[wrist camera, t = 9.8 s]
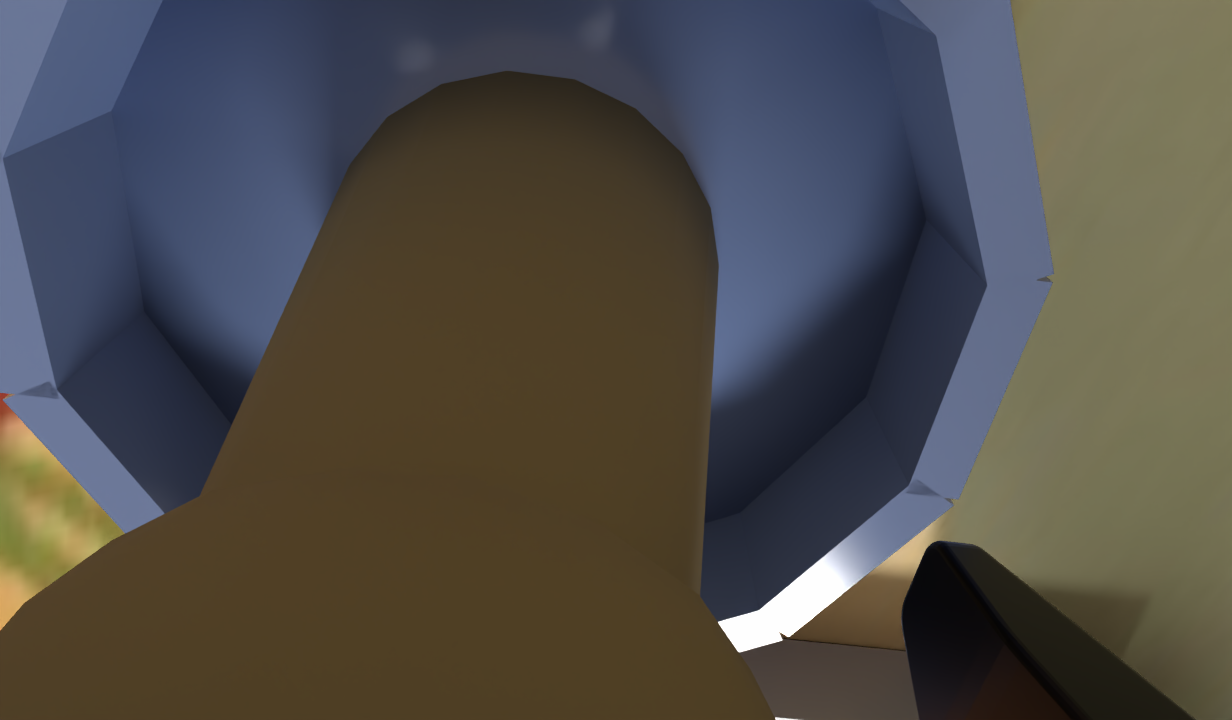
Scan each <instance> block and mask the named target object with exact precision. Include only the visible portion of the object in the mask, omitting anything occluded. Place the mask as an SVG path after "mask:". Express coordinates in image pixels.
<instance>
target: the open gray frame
mask: <svg viewBox="0 0 1232 720" xmlns="http://www.w3.org/2000/svg"><path fill="white" fill-rule="evenodd" d="M739 653H740V655H741V656H742V658H743V659H744V661H745V662H746V664H747V665H748V666H749V668H750V669H751V671H752V673H753V675H754V677H755V679H756V681H757V683H758V685H759V687H760V689H761V691H762V693H763V695H764V697H765V699H766V701H767V703H768V705H769V707H770V709H771V711H772V713H773V715H774V717H775V719H776V720H919V718H918V713H917V707H916V702H915V696H914V691H913V685H912V680H911V674H910V669H909V663H908V658H907V652H906V651H899V650H889V649H879V648H868V647H858V646H848V645H838V644H828V643H818V642H808V641H798V640H787V639H782V641H778V642H775V643H771V644H767V645H764V646H760V647H756V648H753V649H749V650H745V651H742V652H739Z"/></svg>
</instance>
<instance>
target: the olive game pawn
mask: <svg viewBox="0 0 1232 720" xmlns="http://www.w3.org/2000/svg"><path fill="white" fill-rule="evenodd" d="M718 273H719V262H718V255H717V248H716V241H715V234H714V227H713V220H712V213H711V207H710V206H709V204H708V202H707V200H706V198H705V196H704V194H703V192H702V190H701V188H700V186H699V184H698V182H697V180H696V178H695V177H694V175H693V173H692V171H691V169H690V167H689V165H688V163H687V161H686V159H685V157H684V155H683V153H681V152H680V151H679V150H678V149H677V148H676V147H675V146H674V145H673V144H672V143H671V142H670V141H669V140H668V139H667V138H666V137H665V136H664V135H663V134H662V133H661V132H660V131H659V130H658V129H657V128H656V127H654V126H653V125H652V124H651V123H650V122H649V121H648V120H647V119H646V118H645V117H644V116H643V115H642V114H641V113H640V112H639V111H638V110H637V109H636V108H634V107H632V106H630V105H627V104H625V103H623V102H621V101H619V100H617V99H615V98H613V97H611V96H609V95H607V94H604V93H602V92H600V91H598V90H596V89H594V88H592V87H590V86H588V85H586V84H584V83H582V82H579V81H577V80H575V79H569V78H561V77H553V76H545V75H538V74H530V73H522V72H514V71H502V72H498V73H493V74H488V75H483V76H478V77H473V78H468V79H463V80H458V81H454V82H449V83H444V84H441V85H439V86H437V87H436V88H434V89H432V90H431V91H429V92H427V93H426V94H424V95H422V96H421V97H419V98H418V99H416V100H414V101H413V102H411V103H409V104H408V105H406V106H404V107H403V108H401V109H399V110H398V111H396V112H395V113H393V114H391V115H390V116H388V117H387V118H386V119H385V120H384V121H383V123H382V124H381V125H380V127H379V128H378V129H377V130H376V132H375V133H374V134H373V135H372V137H371V138H370V139H369V141H368V142H367V143H366V144H365V146H364V147H363V148H362V149H361V151H360V152H359V153H358V155H357V156H356V157H355V158H354V160H353V161H352V162H351V163H350V165H349V167H348V169H347V171H346V174H345V176H344V178H343V180H342V182H341V185H340V187H339V189H338V191H337V193H336V196H335V198H334V200H333V202H332V205H331V207H330V209H329V211H328V213H327V216H326V218H325V220H324V222H323V224H322V227H321V229H320V231H319V233H318V235H317V238H316V240H315V242H314V244H313V246H312V249H311V251H310V253H309V255H308V258H307V260H306V262H305V264H304V266H303V269H302V271H301V273H300V275H299V277H298V280H297V282H296V284H295V286H294V288H293V291H292V293H291V295H290V297H289V300H288V302H287V304H286V306H285V308H284V311H283V313H282V315H281V317H280V319H279V322H278V324H277V326H276V328H275V330H274V333H273V335H272V337H271V339H270V342H269V344H268V346H267V348H266V350H265V353H264V355H263V357H262V359H261V361H260V364H259V366H258V368H257V370H256V372H255V375H254V377H253V379H252V381H251V383H250V386H249V388H248V390H247V392H246V395H245V397H244V399H243V401H242V403H241V406H240V408H239V410H238V412H237V414H236V417H235V419H234V421H233V423H232V425H231V428H230V430H229V432H228V434H227V437H226V439H225V441H224V443H223V445H222V448H221V450H220V452H219V454H218V456H217V459H216V461H215V463H214V465H213V467H212V470H211V472H210V474H209V476H208V479H207V481H206V483H205V485H204V487H203V490H202V492H201V494H200V496H199V497H197V498H195V499H193V500H191V501H189V502H187V503H185V504H183V505H181V506H179V507H177V508H175V509H173V510H171V511H169V512H167V513H165V514H163V515H161V516H159V517H157V518H155V519H153V520H151V521H149V522H147V523H145V524H143V525H141V526H139V527H137V528H135V529H133V530H131V531H130V532H128V533H126V534H124V535H122V536H120V537H118V538H116V539H114V540H112V541H110V542H109V543H107V544H106V545H105V546H103V547H102V548H101V549H99V550H98V551H96V552H95V553H94V554H92V555H91V556H89V557H88V558H87V559H85V560H84V561H82V562H81V563H80V564H78V565H77V566H75V567H74V568H73V569H71V570H70V571H68V572H67V573H66V574H64V575H63V576H62V577H60V578H59V579H57V580H56V581H55V582H53V583H52V584H50V585H49V586H48V587H46V588H45V589H43V590H42V591H41V592H39V593H38V594H36V595H35V596H34V597H32V598H31V599H29V600H28V601H27V602H25V603H24V604H23V605H22V606H21V608H20V609H19V610H18V611H17V612H16V613H15V615H14V616H13V617H12V618H11V619H10V620H9V621H8V623H7V624H6V625H5V626H4V627H3V628H2V630H1V631H0V720H776V719H775V717H774V715H773V713H772V711H771V709H770V707H769V705H768V703H767V701H766V699H765V697H764V695H763V693H762V691H761V689H760V687H759V685H758V683H757V681H756V679H755V677H754V675H753V673H752V671H751V669H750V668H749V666H748V665H747V664H746V662H745V661H744V659H743V658H742V656H741V655H740V653H739V652H738V651H737V649H736V648H735V646H734V645H733V643H732V642H731V640H730V639H729V638H728V636H727V635H726V633H725V632H724V630H723V629H722V627H721V626H720V625H719V623H718V622H717V620H716V619H715V617H714V616H713V614H712V613H711V612H710V610H709V609H708V607H707V606H706V604H705V603H704V601H703V600H702V599H701V597H700V589H701V571H702V554H703V536H704V519H705V501H706V484H707V466H708V449H709V431H710V414H711V396H712V379H713V361H714V344H715V326H716V308H717V291H718Z"/></svg>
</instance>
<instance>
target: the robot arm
mask: <svg viewBox="0 0 1232 720" xmlns="http://www.w3.org/2000/svg"><path fill="white" fill-rule="evenodd" d="M901 620H902V630H903V636H904V641H905V647H906V652H907V658H908V663H909V669H910V674H911V680H912V685H913V691H914V696H915V702H916V707H917V713H918V718H919V720H1196V719H1194V718H1193V717H1192V716H1191V715H1189V714H1188V713H1187V712H1186V711H1184V710H1183V709H1182V708H1181V707H1179V706H1178V705H1177V704H1176V703H1174V702H1173V701H1172V700H1171V699H1169V698H1168V697H1167V696H1166V695H1164V694H1163V693H1162V692H1161V691H1159V690H1158V689H1157V688H1156V687H1154V686H1153V685H1152V684H1151V683H1149V682H1148V681H1147V680H1146V679H1144V678H1143V677H1142V676H1141V675H1139V674H1138V673H1137V672H1136V671H1134V670H1133V669H1132V668H1131V667H1129V666H1128V665H1127V664H1126V663H1124V662H1123V661H1122V660H1121V659H1119V658H1118V657H1117V656H1116V655H1114V654H1113V653H1112V652H1111V651H1109V650H1108V649H1107V648H1106V647H1104V646H1103V645H1102V644H1101V643H1099V642H1098V641H1097V640H1096V639H1094V638H1093V637H1092V636H1091V635H1089V634H1088V633H1087V632H1086V631H1084V630H1083V629H1082V628H1081V627H1079V626H1078V625H1077V624H1076V623H1074V622H1073V621H1072V620H1071V619H1069V618H1068V617H1067V616H1066V615H1064V614H1063V613H1062V612H1061V611H1059V610H1058V609H1057V608H1056V607H1054V606H1053V605H1052V604H1051V603H1049V602H1048V601H1047V600H1046V599H1044V598H1043V597H1042V596H1041V595H1039V594H1038V593H1037V592H1035V591H1034V590H1033V589H1032V588H1030V587H1029V586H1028V585H1027V584H1025V583H1024V582H1023V581H1022V580H1020V579H1019V578H1018V577H1017V576H1015V575H1014V574H1013V573H1012V572H1010V571H1009V570H1008V569H1007V568H1005V567H1004V566H1003V565H1002V564H1000V563H999V562H998V561H997V560H995V559H994V558H993V557H992V556H990V555H989V554H988V553H987V552H985V551H984V550H983V549H981V548H980V547H978V546H976V545H973V544H966V543H957V542H948V541H937V542H934V543H932V544H931V545H930V546H929V547H928V548H927V549H926V551H925V553H924V555H923V557H922V560H921V562H920V564H919V567H918V569H917V571H916V574H915V576H914V578H913V581H912V583H911V585H910V588H909V590H908V592H907V595H906V597H905V600H904V603H903V607H902V616H901Z"/></svg>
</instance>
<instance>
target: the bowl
mask: <svg viewBox="0 0 1232 720" xmlns="http://www.w3.org/2000/svg"><path fill="white" fill-rule="evenodd" d="M502 71H514V72H522V73H530V74H538V75H545V76H553V77H561V78H569V79H575V80H577V81H579V82H582V83H584V84H586V85H588V86H590V87H592V88H594V89H596V90H598V91H600V92H602V93H604V94H607V95H609V96H611V97H613V98H615V99H617V100H619V101H621V102H623V103H625V104H627V105H630V106H632V107H634V108H636V109H637V110H638V111H639V112H640V113H641V114H642V115H643V116H644V117H645V118H646V119H647V120H648V121H649V122H650V123H651V124H652V125H653V126H654V127H656V128H657V129H658V130H659V131H660V132H661V133H662V134H663V135H664V136H665V137H666V138H667V139H668V140H669V141H670V142H671V143H672V144H673V145H674V146H675V147H676V148H677V149H678V150H679V151H680V152H681V153H683V155H684V157H685V159H686V161H687V163H688V165H689V167H690V169H691V171H692V173H693V175H694V177H695V178H696V180H697V182H698V184H699V186H700V188H701V190H702V192H703V194H704V196H705V198H706V200H707V202H708V204H709V206H710V207H711V213H712V220H713V227H714V234H715V241H716V248H717V255H718V262H719V273H718V291H717V308H716V326H715V344H714V361H713V379H712V396H711V414H710V431H709V449H708V466H707V484H706V501H705V519H704V536H703V554H702V571H701V589H700V597H701V599H702V600H703V601H704V603H705V604H706V606H707V607H708V609H709V610H710V612H711V613H712V614H713V616H714V617H715V619H716V620H717V622H718V623H719V625H720V626H721V627H722V629H723V630H724V632H725V633H726V635H727V636H728V638H729V639H730V640H731V642H732V643H733V645H734V646H735V648H736V649H737V651H738V652H742V651H745V650H749V649H753V648H756V647H760V646H764V645H767V644H771V643H775V642H778V641H782V637H781V633H782V634H784V635H786V636H787V637H790V636H791V635H792V634H793V633H795V632H796V631H797V630H798V629H800V628H801V627H802V626H803V625H805V624H806V623H807V622H808V621H810V620H811V619H812V618H813V617H815V616H816V615H817V614H818V613H820V612H821V611H822V610H823V609H825V608H826V607H827V606H828V605H830V604H831V603H832V602H833V601H835V600H836V599H837V598H838V597H840V596H841V595H842V594H843V593H845V592H846V591H847V590H848V589H850V588H851V587H852V586H853V585H855V584H856V583H857V582H858V581H860V580H861V579H862V578H863V577H865V576H866V575H867V574H868V573H870V572H871V571H872V570H873V569H875V568H876V567H877V566H878V565H880V564H881V563H882V562H883V561H885V560H886V559H887V558H888V557H890V556H891V555H892V554H893V553H895V552H896V551H897V550H898V549H900V548H901V547H902V546H903V545H905V544H906V543H907V542H908V541H910V540H911V539H912V538H913V537H915V536H916V535H917V534H918V533H920V532H921V531H922V530H923V529H925V528H926V527H927V526H928V525H930V524H931V523H932V522H933V521H935V520H936V519H937V518H938V517H940V516H941V515H942V514H943V513H945V512H946V511H947V510H949V509H950V508H951V507H952V506H954V505H953V503H952V501H951V499H959V497H960V495H961V492H962V490H963V488H964V485H965V483H966V481H967V479H968V476H969V474H970V472H971V469H972V467H973V465H974V462H975V460H976V458H977V456H978V453H979V451H980V449H981V446H982V444H983V442H984V439H985V437H986V435H987V433H988V430H989V428H990V426H991V423H992V421H993V419H994V416H995V414H996V412H997V409H998V407H999V405H1000V403H1001V400H1002V398H1003V396H1004V393H1005V391H1006V389H1007V386H1008V384H1009V382H1010V380H1011V377H1012V375H1013V373H1014V370H1015V368H1016V366H1017V363H1018V361H1019V359H1020V357H1021V354H1022V352H1023V350H1024V347H1025V345H1026V343H1027V340H1028V338H1029V336H1030V334H1031V331H1032V329H1033V327H1034V324H1035V322H1036V320H1037V317H1038V315H1039V313H1040V310H1041V308H1042V306H1043V304H1044V301H1045V299H1046V297H1047V294H1048V292H1049V290H1050V287H1051V285H1052V283H1053V282H1051V281H1050V280H1049V279H1048V278H1047V277H1046V276H1049V275H1052V274H1054V271H1053V265H1052V259H1051V252H1050V246H1049V240H1048V234H1047V228H1046V221H1045V215H1044V209H1043V203H1042V196H1041V190H1040V184H1039V178H1038V171H1037V165H1036V159H1035V153H1034V146H1033V140H1032V134H1031V128H1030V122H1029V115H1028V109H1027V103H1026V97H1025V90H1024V84H1023V78H1022V72H1021V65H1020V59H1019V53H1018V47H1017V41H1016V34H1015V28H1014V22H1013V16H1012V9H1011V3H1010V0H0V393H8V394H9V395H8V396H7V397H5V398H4V399H3V401H4V402H5V403H6V404H7V405H8V406H9V407H10V408H11V409H12V411H13V412H14V413H15V414H16V415H17V416H18V417H19V418H20V419H21V420H22V421H23V423H24V424H25V425H26V426H27V427H28V428H29V429H30V430H31V431H32V432H33V433H34V435H35V436H36V437H37V438H38V439H39V440H40V441H41V442H42V443H43V444H44V445H45V447H46V448H47V449H48V450H49V451H50V452H51V453H52V454H53V455H54V456H55V457H56V458H57V460H58V461H59V462H60V463H61V464H62V465H63V466H64V467H65V468H66V469H67V470H68V472H69V473H70V474H71V475H72V476H73V477H74V478H75V479H76V480H77V481H78V482H79V484H80V485H81V486H82V487H83V488H84V489H85V490H86V491H87V492H88V493H89V494H90V496H91V497H92V498H93V499H94V500H95V501H96V502H97V503H98V504H99V505H100V506H101V508H102V509H103V510H104V511H105V512H106V513H107V514H108V515H109V516H110V517H111V518H112V520H113V521H114V522H115V523H116V524H117V525H118V526H119V527H120V528H121V529H122V530H123V532H124V533H125V534H126V533H128V532H130V531H131V530H133V529H135V528H137V527H139V526H141V525H143V524H145V523H147V522H149V521H151V520H153V519H155V518H157V517H159V516H161V515H163V514H165V513H167V512H169V511H171V510H173V509H175V508H177V507H179V506H181V505H183V504H185V503H187V502H189V501H191V500H193V499H195V498H197V497H199V496H200V494H201V492H202V490H203V487H204V485H205V483H206V481H207V479H208V476H209V474H210V472H211V470H212V467H213V465H214V463H215V461H216V459H217V456H218V454H219V452H220V450H221V448H222V445H223V443H224V441H225V439H226V437H227V434H228V432H229V430H230V428H231V425H232V423H233V421H234V419H235V417H236V414H237V412H238V410H239V408H240V406H241V403H242V401H243V399H244V397H245V395H246V392H247V390H248V388H249V386H250V383H251V381H252V379H253V377H254V375H255V372H256V370H257V368H258V366H259V364H260V361H261V359H262V357H263V355H264V353H265V350H266V348H267V346H268V344H269V342H270V339H271V337H272V335H273V333H274V330H275V328H276V326H277V324H278V322H279V319H280V317H281V315H282V313H283V311H284V308H285V306H286V304H287V302H288V300H289V297H290V295H291V293H292V291H293V288H294V286H295V284H296V282H297V280H298V277H299V275H300V273H301V271H302V269H303V266H304V264H305V262H306V260H307V258H308V255H309V253H310V251H311V249H312V246H313V244H314V242H315V240H316V238H317V235H318V233H319V231H320V229H321V227H322V224H323V222H324V220H325V218H326V216H327V213H328V211H329V209H330V207H331V205H332V202H333V200H334V198H335V196H336V193H337V191H338V189H339V187H340V185H341V182H342V180H343V178H344V176H345V174H346V171H347V169H348V167H349V165H350V163H351V162H352V161H353V160H354V158H355V157H356V156H357V155H358V153H359V152H360V151H361V149H362V148H363V147H364V146H365V144H366V143H367V142H368V141H369V139H370V138H371V137H372V135H373V134H374V133H375V132H376V130H377V129H378V128H379V127H380V125H381V124H382V123H383V121H384V120H385V119H386V118H387V117H388V116H390V115H391V114H393V113H395V112H396V111H398V110H399V109H401V108H403V107H404V106H406V105H408V104H409V103H411V102H413V101H414V100H416V99H418V98H419V97H421V96H422V95H424V94H426V93H427V92H429V91H431V90H432V89H434V88H436V87H437V86H439V85H441V84H444V83H449V82H454V81H458V80H463V79H468V78H473V77H478V76H483V75H488V74H493V73H498V72H502Z"/></svg>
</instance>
